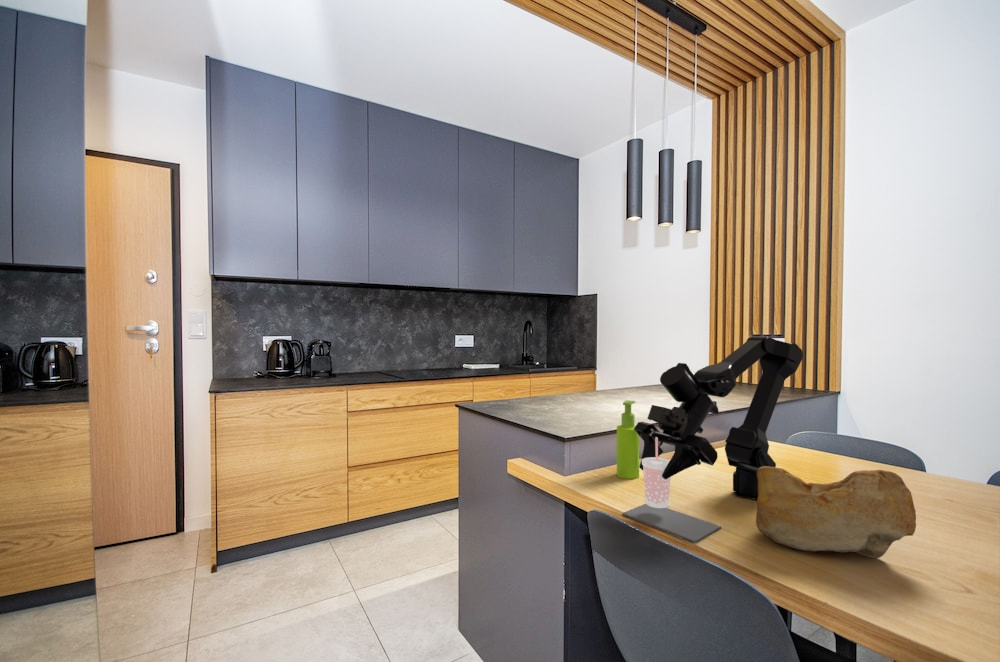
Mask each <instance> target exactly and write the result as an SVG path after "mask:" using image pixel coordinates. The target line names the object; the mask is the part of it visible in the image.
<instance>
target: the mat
mask: <svg viewBox="0 0 1000 662" xmlns="http://www.w3.org/2000/svg"><path fill="white" fill-rule="evenodd" d="M622 516H624V517H626V518H629V519H633V520H635V521H636V522H639V523H642V524H645V525H647V526H650V527H652V528H655V529H657V530H660V531H663V532H666V533H668V534H670V535H672V536H676V537H678V538H681V539H682V540H683V539H684V540H686V541H689V542H691V543H694V544H697V543H698V542H700V541H701V540H704V539H705V538H707V537H710V536H711V535H712V534H714V533H716V532H717V531H720V530H721V529H722V526H721V525H719V524H716V523H713V522H709V521H706V520H703V519H700V518H699V517H698V518H697V517H695V516H692V515H689V514H685V513H683V512H680V511H677V510H675V509H672V508H668V507H666V508H654V507H651V506H648V505H647V504H646V503H643V504H642V505H639V506H636V507H634V508H631V509H630V510H627V511H624V512H622Z"/></svg>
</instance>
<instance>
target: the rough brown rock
mask: <svg viewBox="0 0 1000 662" xmlns="http://www.w3.org/2000/svg"><path fill="white" fill-rule="evenodd" d="M757 479H758V500H756V514H755V515H756V516H755V517H756V518H755V524H756V525H755V526H756V528H757V529H758V531H759V532H760V533H761V534H763V535H765V536H767V537H768V538H770V539H771V540H772V541H773V542H775V543H777V544H780V545H784V546H786V547H790V548H793V549H796V550H799V551H806V552H819V551H820V552H821V551H822V552H836V553H837V552H838V553H850V552H853V553H854V552H855V553H857V554H859V555H861V556H863V557H867V558H869V559H870V558H873V559H880V558H881V557H883V556H884V555H885V554H886V553H887V552H888V550H889V548H890V547H891V545H892V544H893V543H894V542H897V541H900V540H901V539H903V538H904V537H908V536H909V537H911V536H912V537H913V536H914V535H915V534H914V533H915V532H916V527H917V523H916V521H917V517H916V516H917V515H916V509H915V505H914V499H913V496H912V492H911V491H910V489H909V488H908V487H907V485H906V483H905V482H904V480H903V478H902V477H901V476H900V475H899V474H897V473H895V472H893V471H890V470H886V469H885V470H883V469H876V470H871V469H870V470H866V469H865V470H855V471H853V472H850V474H848V475H847V476H846V477H845V478H843V479H841V480H839V481H835V482H834V481H833V482H830V483H829V482H828V483H820V482H819V483H818V482H815V483H813V482H808V483H807V482H805V481H804V480H803V479H802V478H800V477H798V476H796V475H793V474H792V473H790V472H789V471H788V470H786V469H784V468H781V467H769V466H762V467H760V468H758V470H757Z"/></svg>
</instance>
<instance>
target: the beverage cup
mask: <svg viewBox="0 0 1000 662" xmlns="http://www.w3.org/2000/svg"><path fill="white" fill-rule="evenodd" d="M655 444H656V457H648V458H643V459H642V465H643V470H642V471H643V480H644V481H643V483H644V484H643V485H644V498H645V504H647V505H648V506H651V507H654V508H668V507H669V506H670V505H669V504H670V493H671V491H670V490H671V477H669V478H668V479H664V478H663V477H662V474H663V472H664V470H665V468H666V466H667V465H668V463H669V461H670V460H671V459H667V458H663V457H658V437H655Z"/></svg>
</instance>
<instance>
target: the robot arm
mask: <svg viewBox="0 0 1000 662" xmlns="http://www.w3.org/2000/svg"><path fill="white" fill-rule="evenodd" d="M803 357H804V352H803V349H802V348H800V346H799V345H798V344H797V343H792V342H786V341H782V340H778V339H775V338H773V337H769V336H767V335H766V336H763V335H762V336H761V335H760V336H759V335H757V336H755V335H753V336H750V337H748V338H747V339H746V341H745V342H744V343H743V344H741V345H740V346H739V347H738V348H737V349H735V350H734V351H732V352H731V353H730V354H728V356H726V357H725V358H724V359H722V360H721V361H720V362H717V363H715V364H714V363H713V364H711V365H706V366H705V367H703V368H700V369H698V370H696V372H694V374H693V372H692V371H691V369H690V367H689V365H688V364H687V363H685V362H683V363H682V362H678V363H677V364H676V366H673V367H671V368H668V369H667V370H666V371H664V372H662V374H661V376H660V377H659V381H660V383H661V385H662V386H663V387H664V388H665V390H666V391H667V392H668V393H669V395H670V396H671V397H672V399H673V400H674V401H676V402H677V403H680V405H679V406H673V407H672V408H668V407H665V406H660V405H654V404H651V406H650V410H649V412H648V415H647V420H649V421H653V422H655V423H658V425H657V427H658V428H659V429H660V430H662V432H661V431H659V430H658V428H657V427H656V426H655V425H654V424H653V423H649V422H645V421H638V422H637V423H636V425H634V426H635V428H634V430H635V431H636V433H637V434H638V435H639V438H640V439H642V440H643V451H642V454H641V459H640V461H639V470H641V471H643V465H642V459H643V458H648V457H656V444H655V437H658V458H660V456H661V455H662V454H663V453H664V452H665V451H664V450H663V448H661V446H662V445H663V444H667V445H671V446H674V453H673V455H672V456H671V458H670V459H669V460H670V461H669V463H668V465H667V466H666V468H665V470H664V472H663V474H662V477H663V478H664V479H668V478H669V477H670V478H671V477H673V476H675V475H677V474H679V473H680V472H683V471H684V470H687V469H689V468H691V467H694V466H696V465H698V466H700V465H701V464H702V463H704V464H706V465H709V466H714V464H716V461H717V460H718V451H717V450H716V449H715V448H714V446H713V445H712V443H710V441H709V439H707V438H706V437H704V436H700V435H696V434H697V433H698V434H702V433H703V431H704V429H703V427H702V425H703V423H704V421H705V420H706V419H707V417H708V415H709V414H715V415H718V414H719V412H720V411H719V407H718V405H717V401H715V400H713V399H712V398H710V396H711V397H717V398H718V397H719V398H725V397H727V396H729V394H730V393H731V392H732V391H733V389H734V388H735V387H736V386H737V378H739V377H740V376H742V374H743V373H744V372H746V371H747V370H748V369H749V368H751V367H752V366H754V365H755V363H756V362H759V364H760V368H761V371H762V372H761V375H760V378H759V380H758V384H756V385H757V386H756V388H755V391H754V392H753V393H754V394H753V397H752V400H751V401H750V405H749V407H748V410H747V413H746V415H745V417H744V421H743V423H742V424H741V425H740V426H739V427H735V426H731V428H730V429H729V433H728V436H727V438H726V439H725V441H724V442H725V446H724V451H725V456H726V459H727V463H728V465H729V466H731V467H735V471H734V472H733V474H732V491H733V492H734V496H735V497H740V498H745V499H750V500H756V501H757V500H758V479H757V470H758V468H760V467H762V466H769V467H776V466H777V464H776V462H775V461H774V459H772V457H771V456H770V454H769V449H770V444H769V440H768V437H767V434H766V433H767V430H768V427H769V424H770V422H771V419H772V416H773V414H774V411H775V409H776V405H777V402H778V399H779V398H780V394H781V392H782V390H783V389H782V388H783V386H784V383H785V380H786V379H788V378H789V377H791V376H792V375H794V374H795V373H796V372H797V370H798V368H799V367H800V365H801V363H802V361H803ZM776 468H777V467H776Z"/></svg>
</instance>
